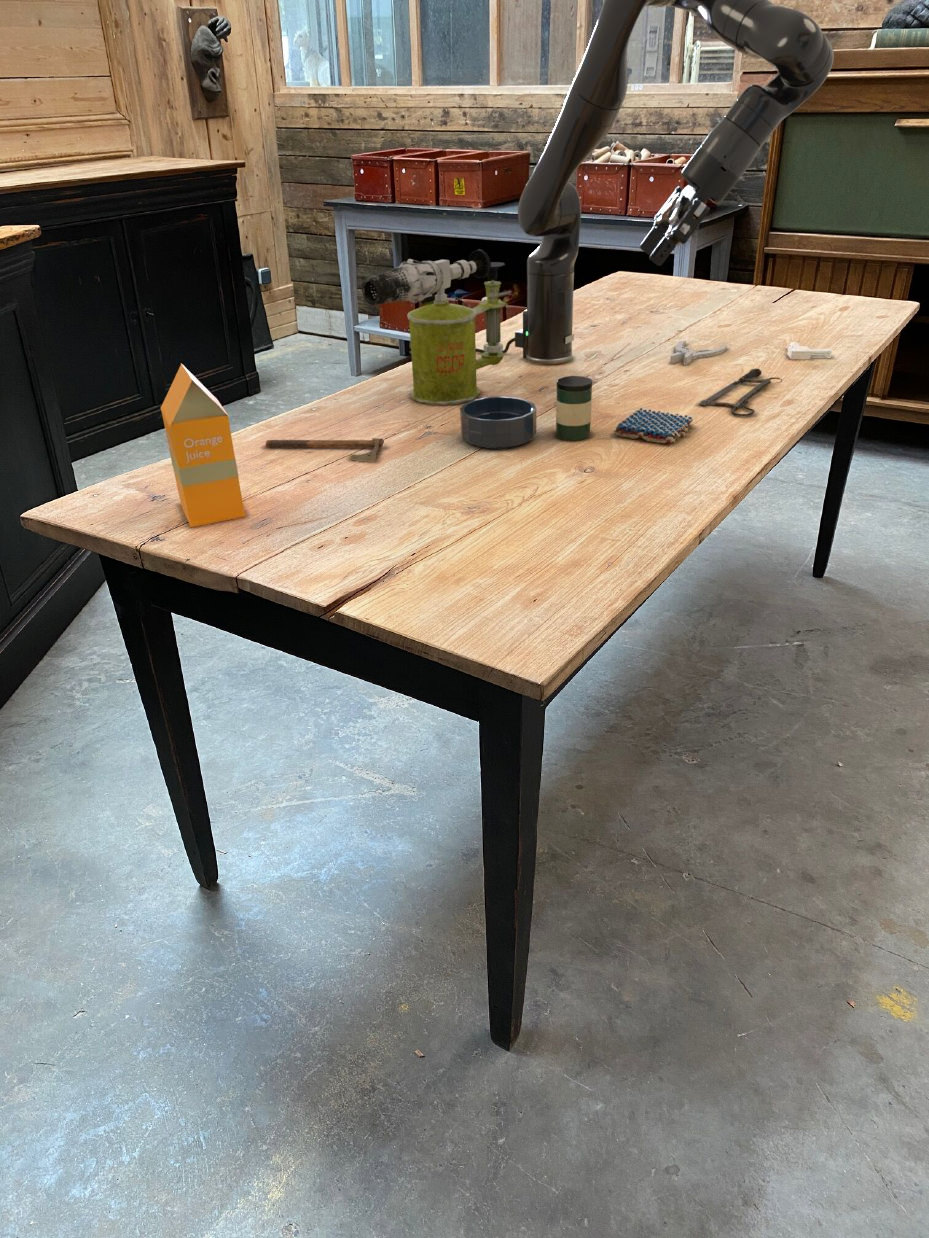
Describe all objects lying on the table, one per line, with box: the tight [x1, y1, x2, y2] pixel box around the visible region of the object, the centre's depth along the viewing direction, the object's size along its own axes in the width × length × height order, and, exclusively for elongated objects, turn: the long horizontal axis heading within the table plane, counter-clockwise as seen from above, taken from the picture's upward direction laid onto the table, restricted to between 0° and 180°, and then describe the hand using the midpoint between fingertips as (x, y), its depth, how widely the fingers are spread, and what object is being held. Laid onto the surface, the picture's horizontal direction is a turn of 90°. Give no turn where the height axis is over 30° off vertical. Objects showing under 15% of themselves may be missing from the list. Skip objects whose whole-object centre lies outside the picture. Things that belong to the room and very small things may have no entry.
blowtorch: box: [361, 248, 508, 406], centre depth 169 cm, size 13×33×25 cm, turn 137°
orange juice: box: [160, 363, 246, 528], centre depth 128 cm, size 8×9×20 cm
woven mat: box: [613, 407, 694, 444], centre depth 154 cm, size 10×11×2 cm
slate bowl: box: [459, 395, 538, 449], centre depth 153 cm, size 12×12×5 cm
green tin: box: [555, 375, 593, 442], centre depth 152 cm, size 6×6×9 cm
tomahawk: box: [265, 437, 385, 463], centre depth 151 cm, size 20×7×1 cm, turn 83°
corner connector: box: [786, 341, 832, 360], centre depth 190 cm, size 8×8×2 cm
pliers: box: [669, 339, 728, 366], centre depth 192 cm, size 10×2×15 cm
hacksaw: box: [699, 367, 783, 417], centre depth 169 cm, size 24×10×2 cm, turn 141°
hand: (648, 257), depth 145 cm, fingers open, 8 cm apart
